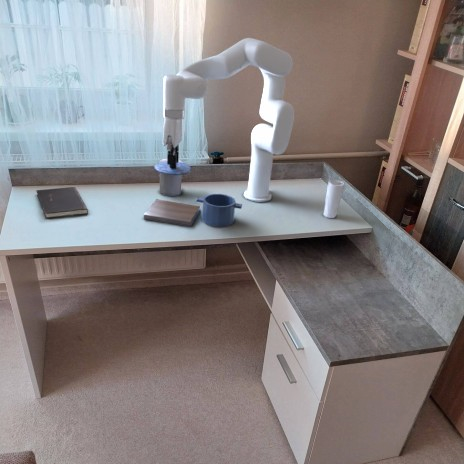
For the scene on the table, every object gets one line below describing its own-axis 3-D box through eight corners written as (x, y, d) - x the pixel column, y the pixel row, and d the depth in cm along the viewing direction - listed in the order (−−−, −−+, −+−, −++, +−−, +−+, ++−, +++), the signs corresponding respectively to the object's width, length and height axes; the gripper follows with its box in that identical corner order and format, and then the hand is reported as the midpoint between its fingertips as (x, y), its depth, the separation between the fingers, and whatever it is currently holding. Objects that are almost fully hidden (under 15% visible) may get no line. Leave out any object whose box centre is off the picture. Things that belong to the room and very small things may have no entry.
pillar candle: (155, 193, 212) (155, 159, 204) (166, 186, 220) (166, 153, 211) (175, 198, 210) (175, 164, 201) (185, 190, 217) (186, 158, 209)
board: (156, 203, 204) (156, 199, 203) (200, 210, 202) (200, 205, 201) (143, 219, 191) (143, 214, 190) (190, 226, 189) (190, 221, 188)
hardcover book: (45, 218, 184) (45, 213, 183) (36, 195, 200) (36, 190, 199) (88, 214, 190) (87, 208, 189) (76, 191, 207) (75, 186, 205)
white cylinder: (338, 214, 210) (345, 181, 202) (335, 220, 205) (343, 187, 196) (323, 211, 212) (330, 178, 203) (320, 217, 207) (327, 183, 198)
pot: (200, 210, 202) (200, 190, 197) (242, 216, 200) (244, 197, 195) (192, 222, 192) (193, 202, 187) (237, 230, 190) (239, 210, 185)
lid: (160, 162, 192) (161, 145, 188) (194, 167, 190) (195, 150, 186) (149, 173, 180) (149, 155, 177) (185, 179, 179) (186, 161, 175)
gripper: (170, 106, 180) (169, 155, 191) (156, 116, 167) (156, 168, 178) (189, 109, 179) (187, 158, 190) (177, 120, 166) (176, 171, 177)
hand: (172, 163), depth 184 cm, fingers closed on lid, 2 cm apart
